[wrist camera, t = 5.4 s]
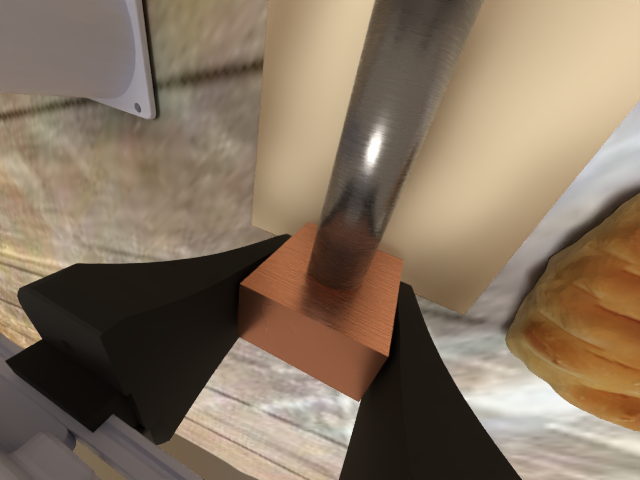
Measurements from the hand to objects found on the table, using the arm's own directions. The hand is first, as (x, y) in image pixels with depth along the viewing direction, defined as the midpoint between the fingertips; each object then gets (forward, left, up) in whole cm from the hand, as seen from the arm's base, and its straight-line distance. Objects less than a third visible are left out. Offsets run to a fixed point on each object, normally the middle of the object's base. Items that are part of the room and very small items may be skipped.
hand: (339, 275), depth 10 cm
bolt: (0, +4, -1) cm, 4 cm away
